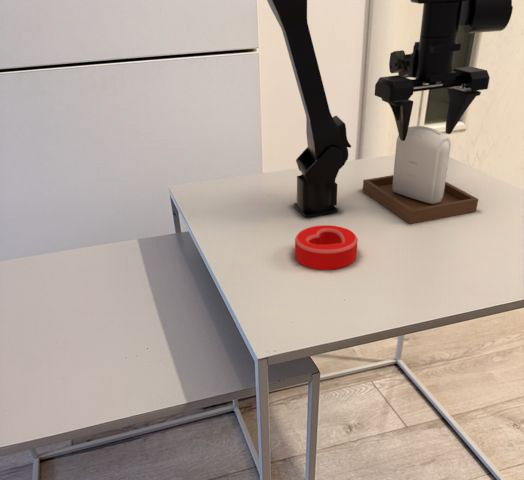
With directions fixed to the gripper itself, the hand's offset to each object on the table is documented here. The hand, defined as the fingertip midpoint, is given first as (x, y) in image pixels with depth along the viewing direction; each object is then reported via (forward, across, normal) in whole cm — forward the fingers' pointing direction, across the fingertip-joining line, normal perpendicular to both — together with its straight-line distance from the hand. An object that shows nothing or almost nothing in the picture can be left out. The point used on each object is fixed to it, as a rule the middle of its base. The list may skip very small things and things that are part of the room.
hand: (425, 136), depth 95 cm
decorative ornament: (+12, +25, +14) cm, 31 cm away
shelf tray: (+12, 0, 0) cm, 12 cm away
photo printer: (+11, 0, 0) cm, 11 cm away
